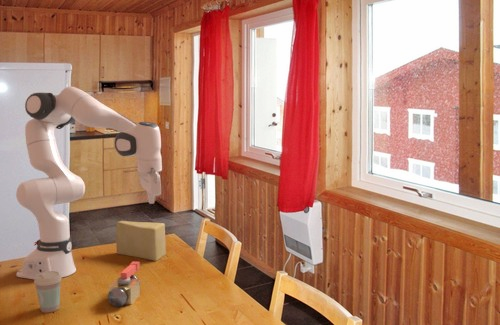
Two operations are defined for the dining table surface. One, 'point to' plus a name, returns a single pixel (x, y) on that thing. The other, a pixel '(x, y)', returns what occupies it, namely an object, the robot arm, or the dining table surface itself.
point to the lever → (128, 273)
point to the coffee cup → (48, 290)
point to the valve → (124, 292)
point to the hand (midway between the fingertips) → (151, 202)
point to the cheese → (141, 239)
